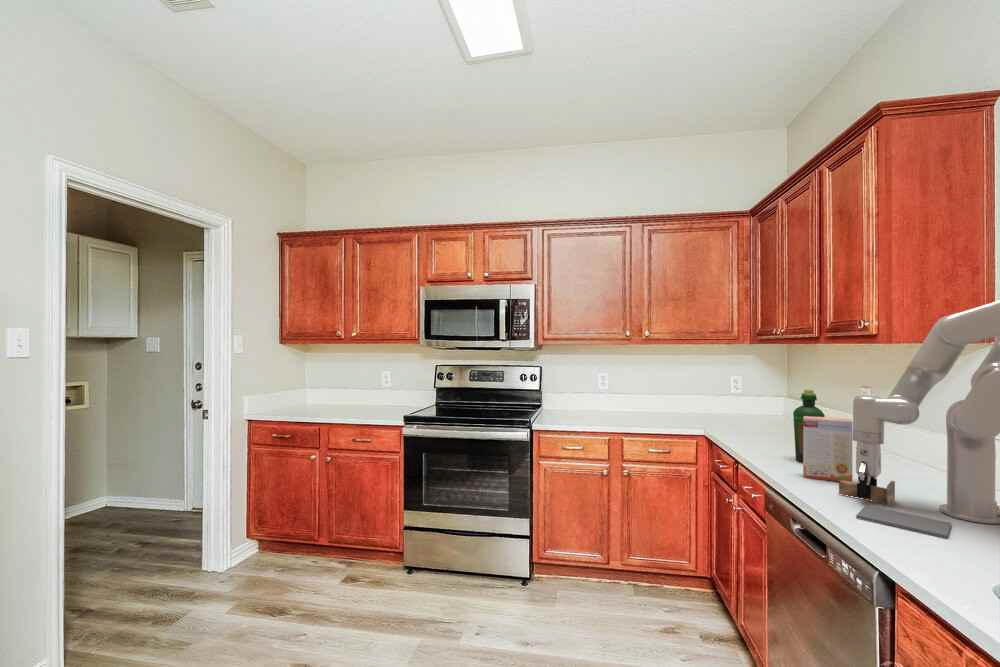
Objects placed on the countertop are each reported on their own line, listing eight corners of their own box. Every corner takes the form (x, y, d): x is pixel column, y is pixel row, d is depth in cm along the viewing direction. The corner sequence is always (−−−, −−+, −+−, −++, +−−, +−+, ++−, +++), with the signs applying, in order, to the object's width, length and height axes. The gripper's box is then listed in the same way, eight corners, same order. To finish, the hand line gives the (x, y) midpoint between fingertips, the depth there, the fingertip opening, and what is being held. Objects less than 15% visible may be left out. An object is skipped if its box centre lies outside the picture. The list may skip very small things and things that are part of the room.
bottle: (809, 466, 184) (810, 392, 184) (785, 459, 194) (786, 389, 195) (831, 464, 187) (832, 391, 187) (806, 457, 197) (807, 388, 198)
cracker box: (851, 480, 166) (851, 418, 167) (852, 484, 161) (853, 421, 161) (802, 473, 174) (803, 414, 174) (802, 477, 169) (803, 417, 169)
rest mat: (951, 526, 126) (951, 522, 126) (947, 538, 117) (947, 535, 118) (865, 507, 139) (865, 505, 139) (856, 518, 130) (856, 515, 130)
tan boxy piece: (837, 496, 149) (837, 476, 149) (843, 491, 154) (843, 472, 154) (890, 507, 139) (890, 486, 140) (894, 501, 145) (894, 481, 145)
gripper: (878, 443, 138) (877, 504, 138) (888, 435, 150) (887, 491, 150) (846, 438, 143) (845, 497, 143) (858, 431, 155) (857, 485, 155)
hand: (866, 494), depth 147 cm, fingers open, 9 cm apart
